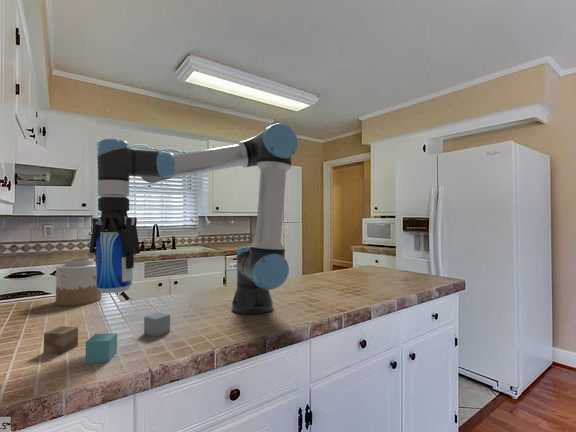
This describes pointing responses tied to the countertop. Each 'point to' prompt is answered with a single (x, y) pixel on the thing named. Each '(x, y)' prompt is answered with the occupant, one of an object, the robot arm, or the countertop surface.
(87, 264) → the vase
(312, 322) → the countertop surface
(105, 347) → the teal cube
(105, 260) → the beer can
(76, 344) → the walnut cube
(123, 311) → the countertop surface
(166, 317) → the grey cube
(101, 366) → the countertop surface
